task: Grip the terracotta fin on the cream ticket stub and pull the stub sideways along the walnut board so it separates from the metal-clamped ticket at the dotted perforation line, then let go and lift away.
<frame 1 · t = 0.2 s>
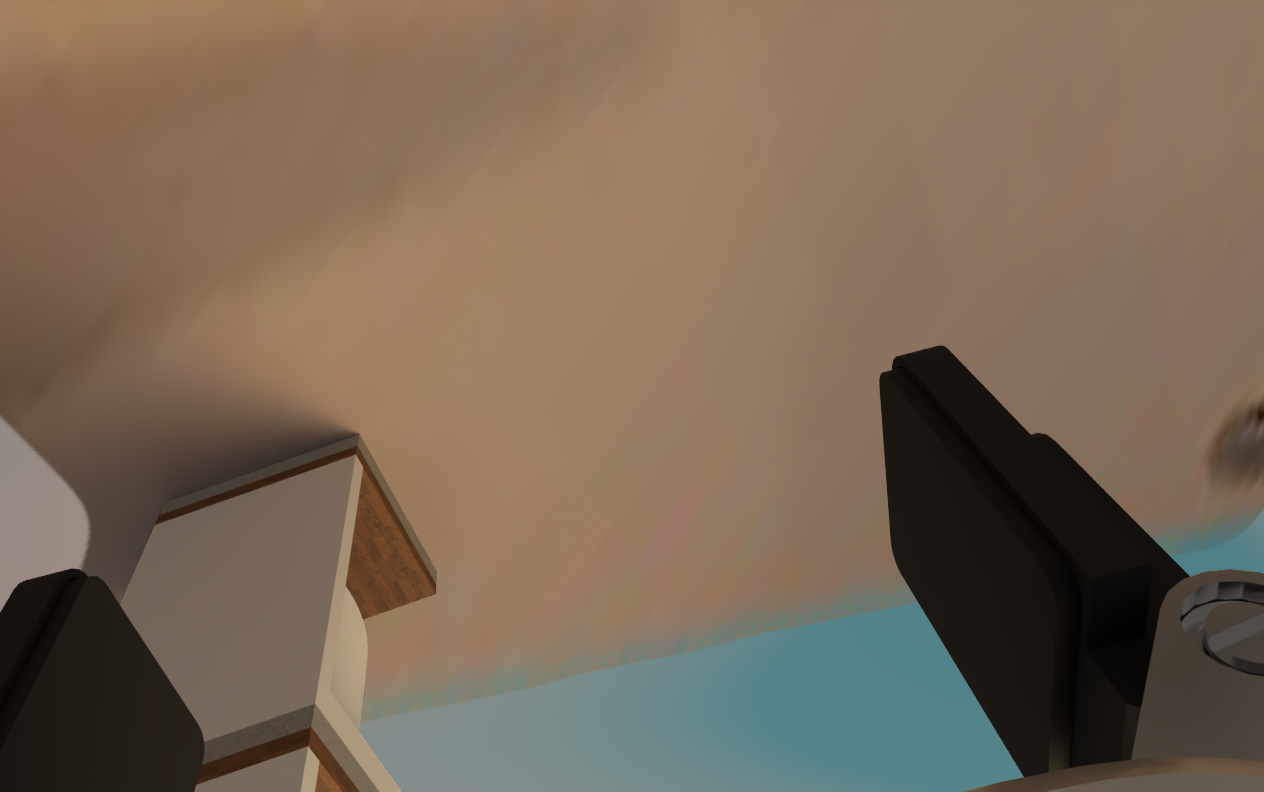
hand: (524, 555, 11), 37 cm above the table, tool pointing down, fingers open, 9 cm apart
display case: (307, 536, 56), on the table
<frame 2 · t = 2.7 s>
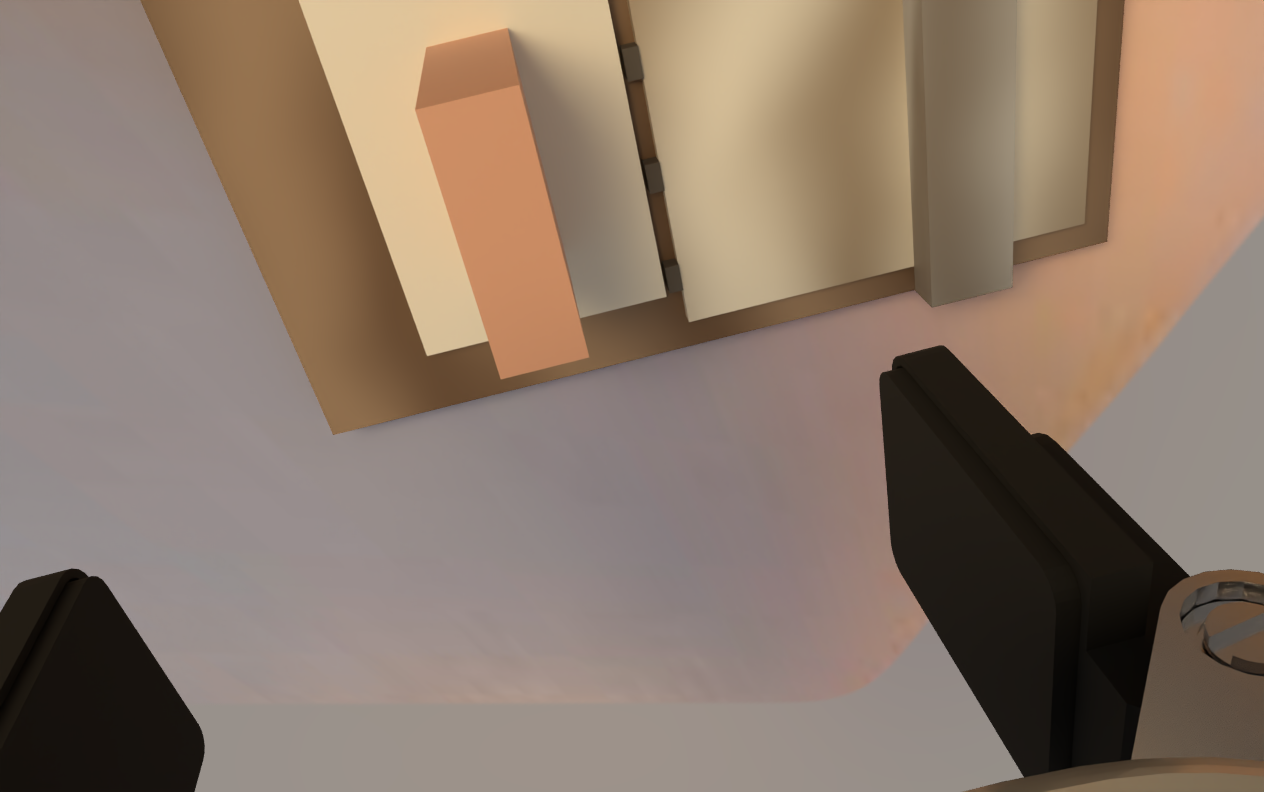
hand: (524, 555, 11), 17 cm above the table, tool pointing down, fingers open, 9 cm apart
ticket board: (677, 96, 26), on the table
stub: (503, 192, 22), point 4 cm above the table, slide at 0.0 cm
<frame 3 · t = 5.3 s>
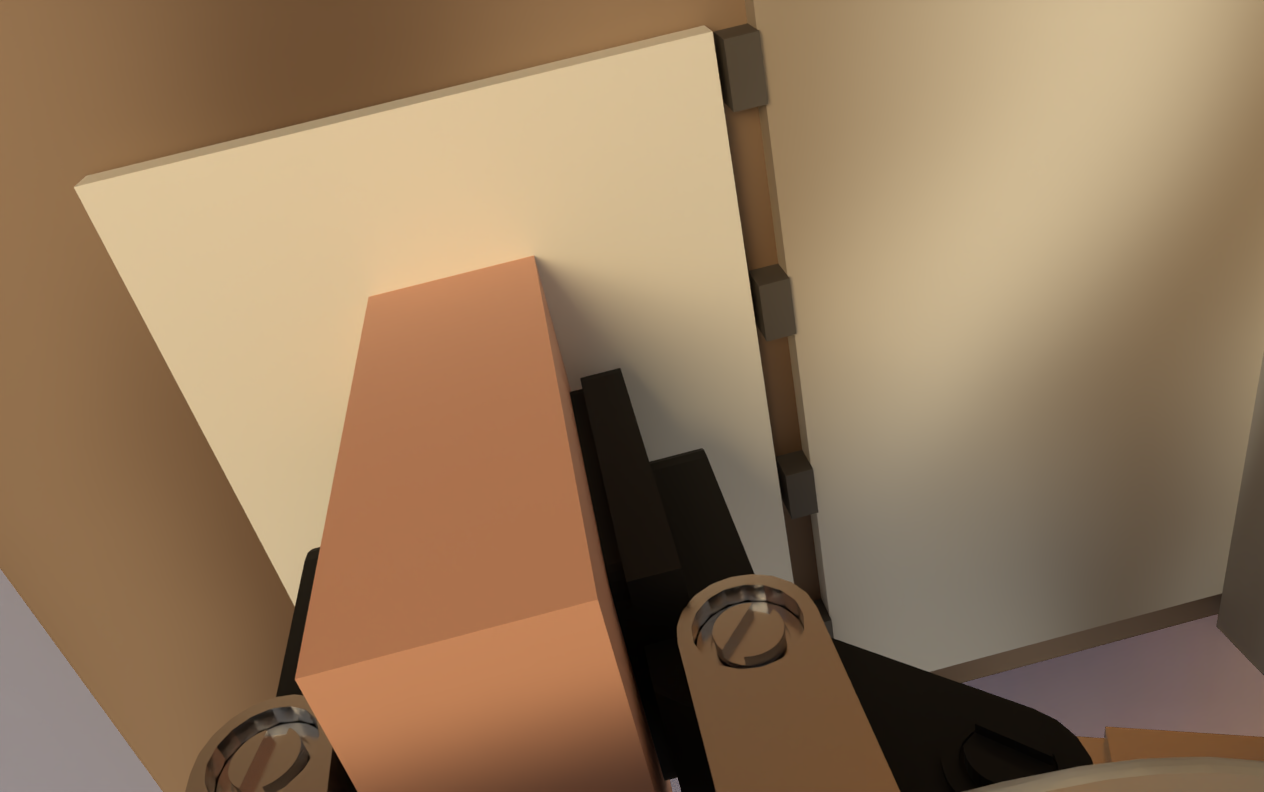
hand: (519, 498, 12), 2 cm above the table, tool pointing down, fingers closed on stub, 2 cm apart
ticket board: (834, 331, 14), on the table
stub: (530, 622, 10), point 4 cm above the table, slide at 0.0 cm, touching gripper
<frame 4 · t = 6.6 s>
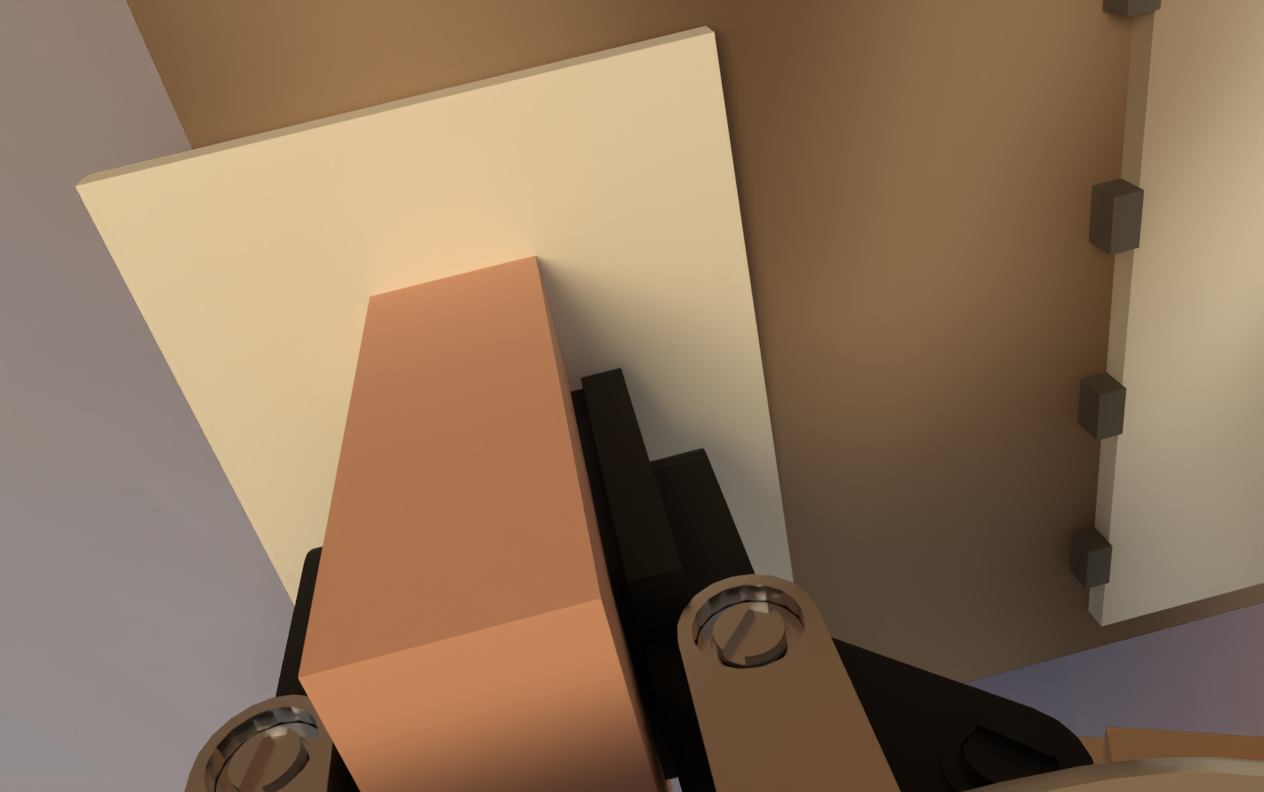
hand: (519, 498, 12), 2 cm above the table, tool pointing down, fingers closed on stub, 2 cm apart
ticket board: (1127, 257, 15), on the table
stub: (531, 622, 10), point 4 cm above the table, slide at 4.7 cm, touching gripper
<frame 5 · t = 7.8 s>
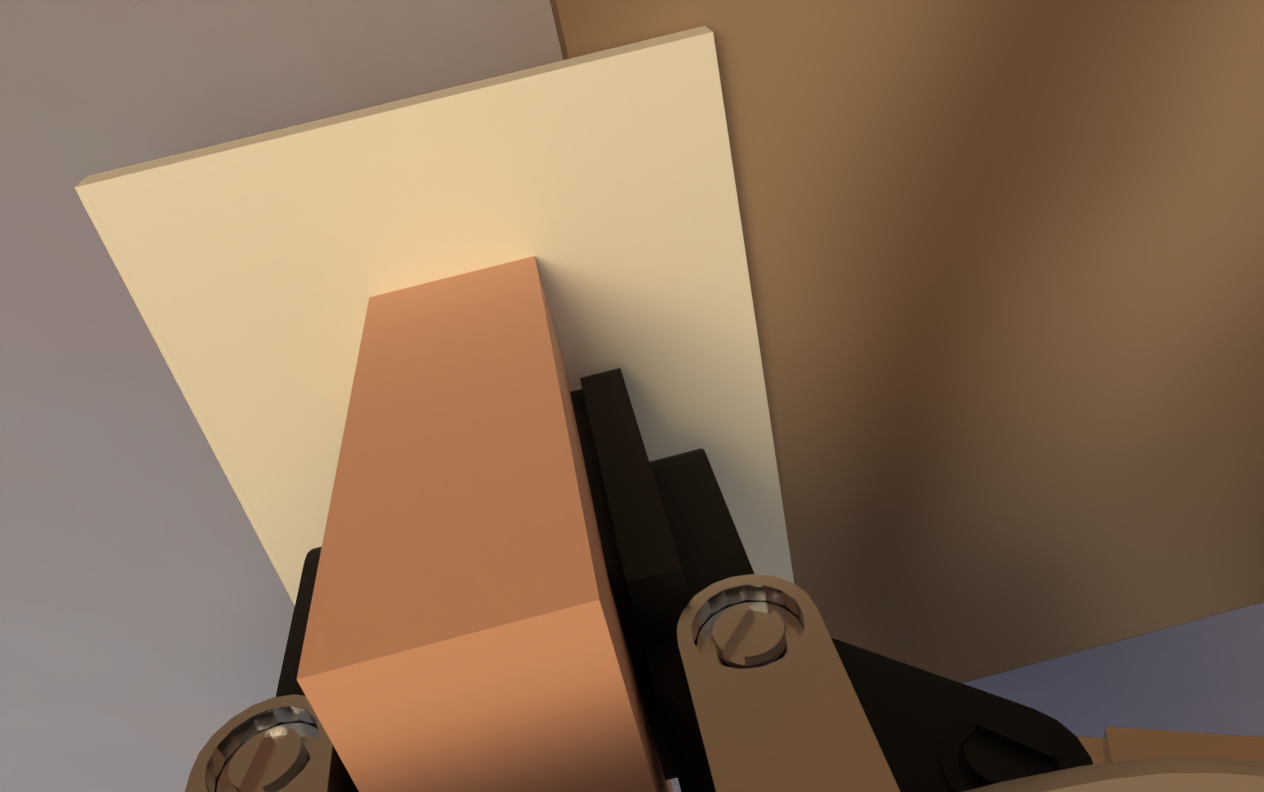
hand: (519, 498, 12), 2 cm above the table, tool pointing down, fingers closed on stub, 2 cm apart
stub: (531, 622, 10), point 4 cm above the table, slide at 8.9 cm, touching gripper
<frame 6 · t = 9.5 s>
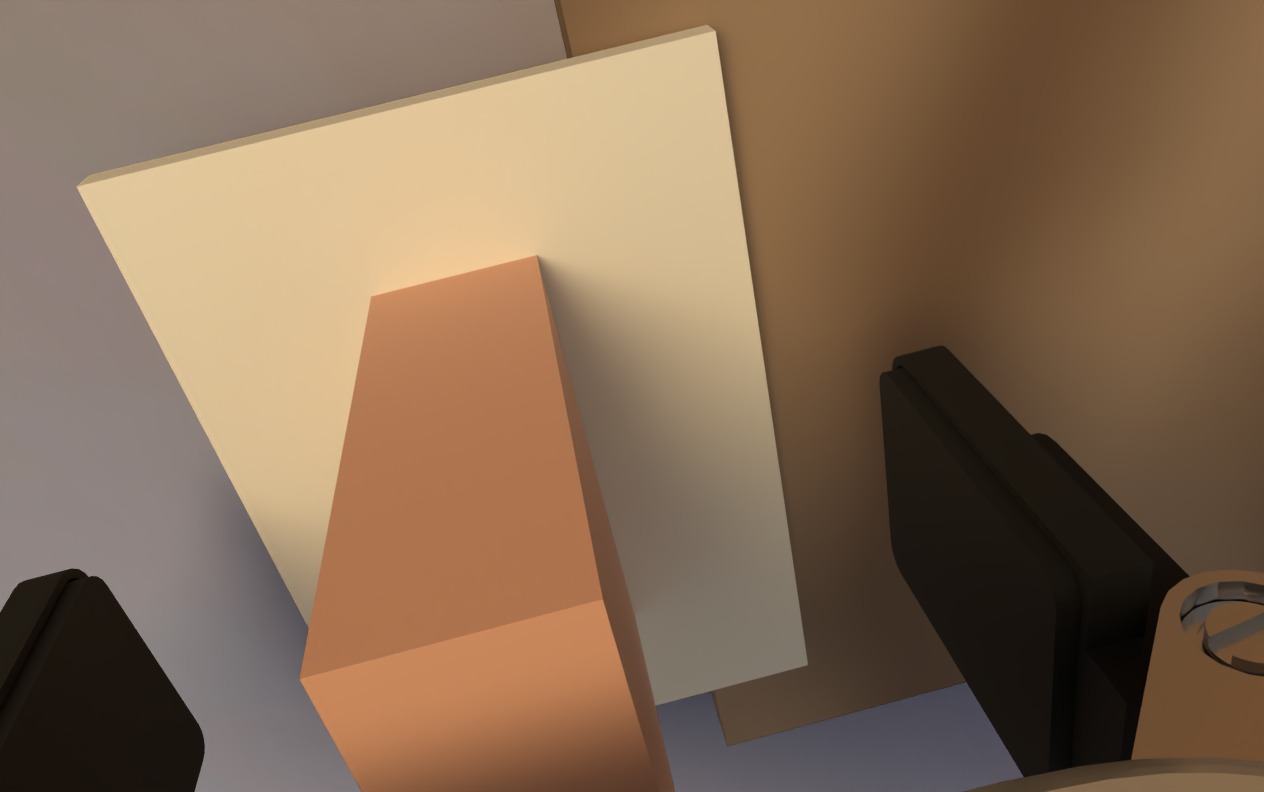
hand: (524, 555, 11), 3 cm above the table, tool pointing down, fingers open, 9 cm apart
stub: (533, 622, 10), point 4 cm above the table, slide at 9.0 cm
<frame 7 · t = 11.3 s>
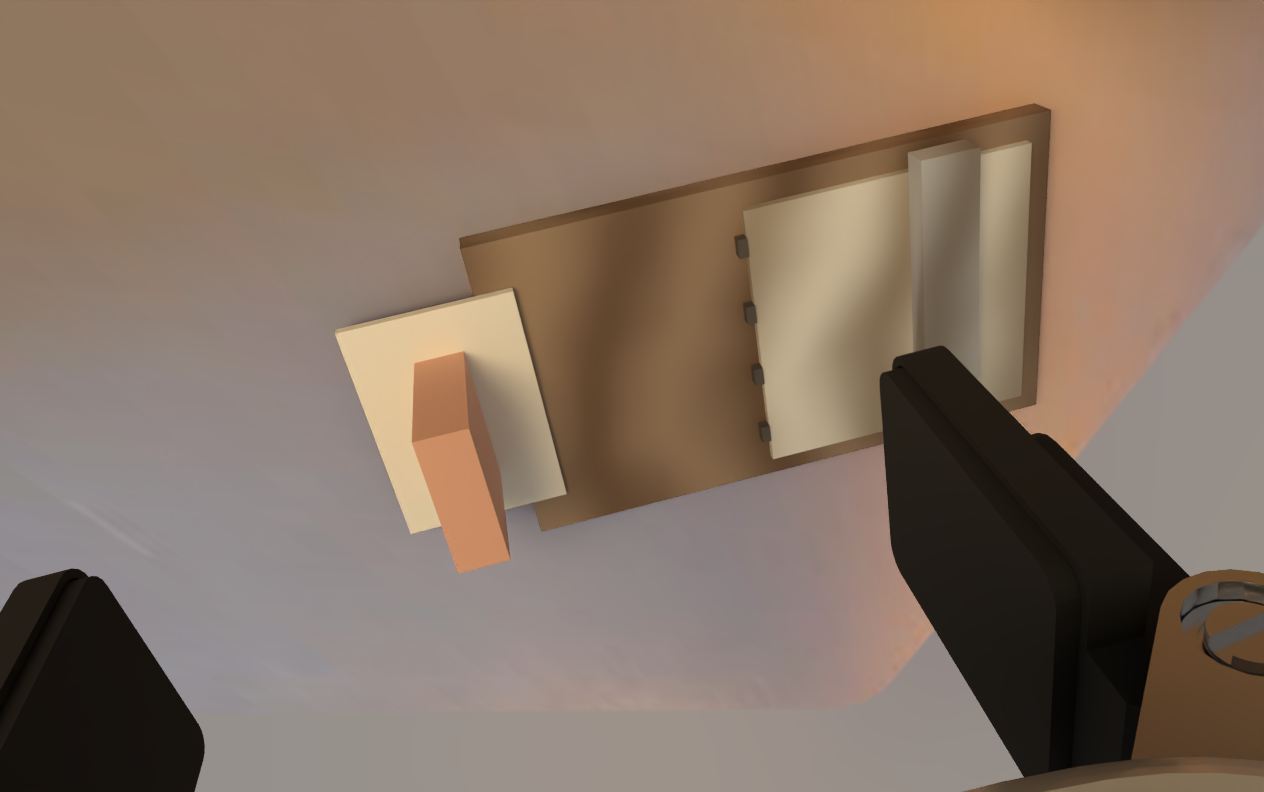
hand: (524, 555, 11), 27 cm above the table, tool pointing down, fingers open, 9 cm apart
ticket board: (770, 323, 42), on the table
stub: (460, 456, 37), point 4 cm above the table, slide at 9.0 cm
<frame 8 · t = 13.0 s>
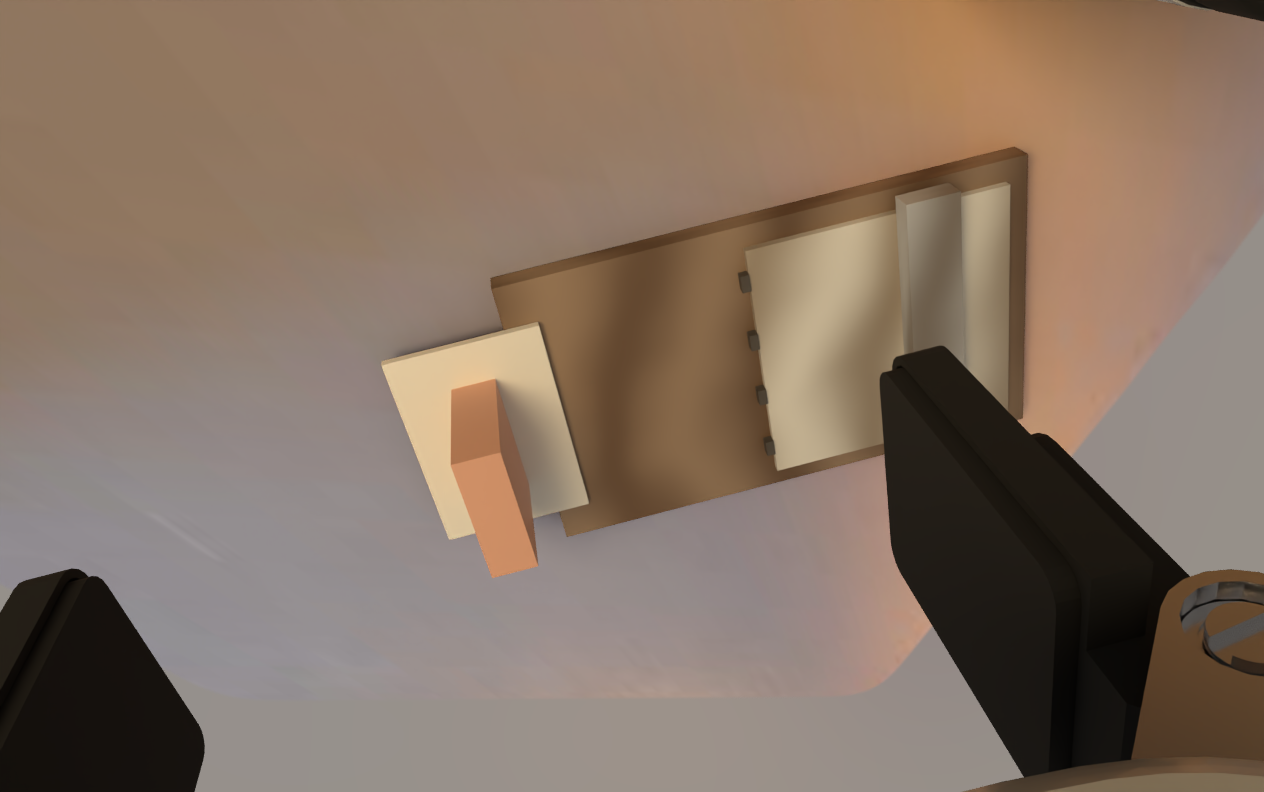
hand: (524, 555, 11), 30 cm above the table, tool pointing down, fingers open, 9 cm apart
ticket board: (773, 347, 46), on the table
stub: (493, 473, 42), point 4 cm above the table, slide at 9.0 cm
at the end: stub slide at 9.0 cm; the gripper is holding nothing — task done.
